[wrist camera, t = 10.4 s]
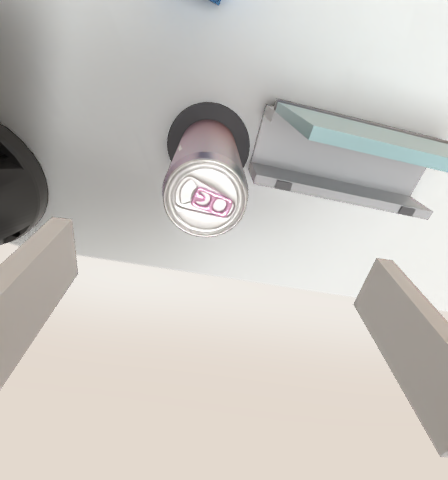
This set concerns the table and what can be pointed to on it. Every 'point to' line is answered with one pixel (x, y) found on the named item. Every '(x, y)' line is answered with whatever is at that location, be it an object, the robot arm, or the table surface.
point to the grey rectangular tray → (332, 170)
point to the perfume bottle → (216, 1)
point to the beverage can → (205, 181)
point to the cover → (365, 136)
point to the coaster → (212, 113)
